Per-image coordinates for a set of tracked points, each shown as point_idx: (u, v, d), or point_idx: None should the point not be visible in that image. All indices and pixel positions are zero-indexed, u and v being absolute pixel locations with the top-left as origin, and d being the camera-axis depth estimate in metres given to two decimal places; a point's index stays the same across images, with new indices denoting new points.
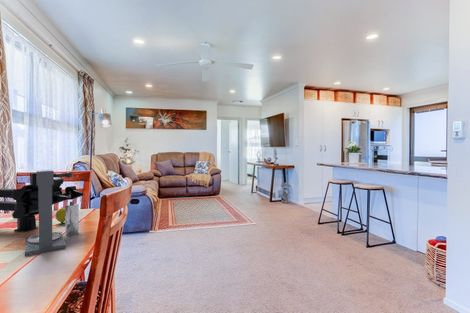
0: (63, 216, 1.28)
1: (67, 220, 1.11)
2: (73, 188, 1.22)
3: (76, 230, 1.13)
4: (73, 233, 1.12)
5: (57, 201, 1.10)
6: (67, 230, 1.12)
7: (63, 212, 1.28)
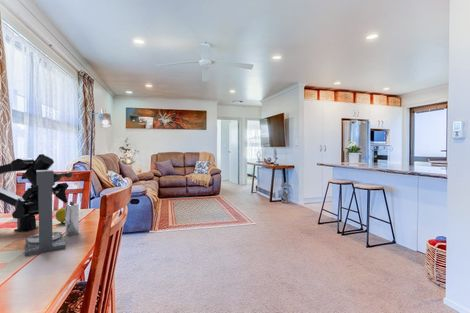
0: (63, 216, 1.28)
1: (67, 220, 1.11)
2: (64, 189, 1.22)
3: (76, 230, 1.13)
4: (73, 233, 1.12)
5: None
6: (67, 230, 1.12)
7: (63, 212, 1.28)
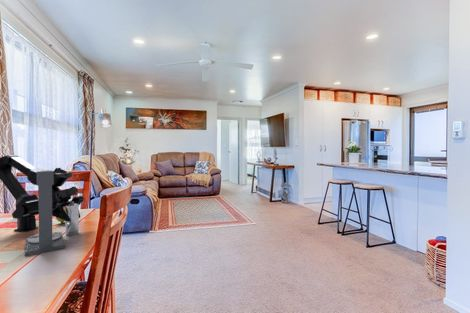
0: None
1: None
2: (76, 203, 1.18)
3: (76, 230, 1.13)
4: (73, 233, 1.12)
5: (59, 217, 1.10)
6: (67, 230, 1.12)
7: None
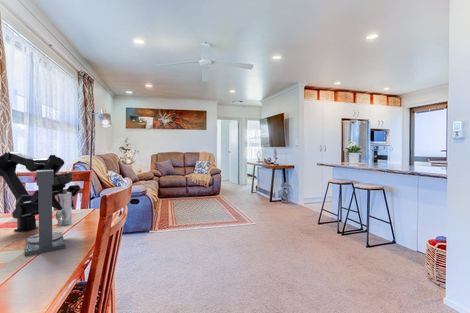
0: None
1: None
2: (71, 192, 1.14)
3: (68, 220, 1.09)
4: (64, 222, 1.08)
5: None
6: (59, 219, 1.08)
7: None
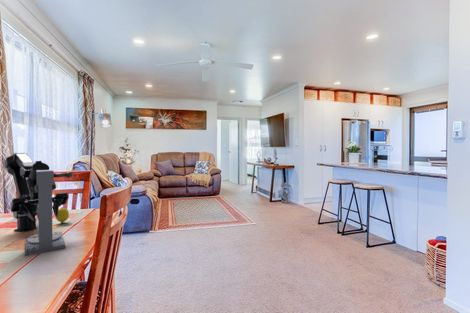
0: (63, 216, 1.28)
1: (37, 221, 1.01)
2: (58, 200, 1.08)
3: None
4: None
5: (27, 214, 1.01)
6: (37, 232, 1.01)
7: (63, 212, 1.28)
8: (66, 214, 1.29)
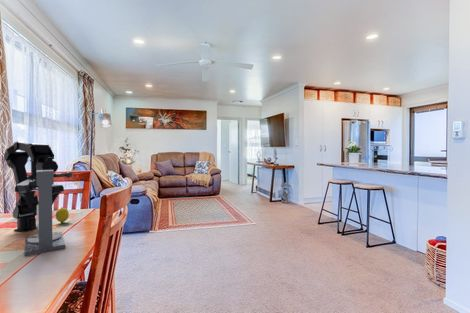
0: (63, 216, 1.28)
1: (37, 221, 1.01)
2: None
3: None
4: None
5: None
6: (37, 232, 1.02)
7: (63, 212, 1.28)
8: (66, 214, 1.29)
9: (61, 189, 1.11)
